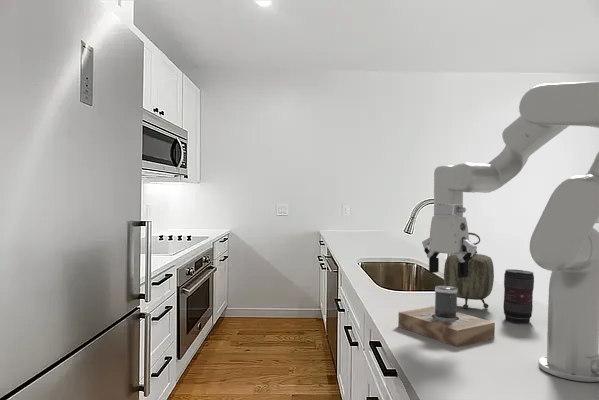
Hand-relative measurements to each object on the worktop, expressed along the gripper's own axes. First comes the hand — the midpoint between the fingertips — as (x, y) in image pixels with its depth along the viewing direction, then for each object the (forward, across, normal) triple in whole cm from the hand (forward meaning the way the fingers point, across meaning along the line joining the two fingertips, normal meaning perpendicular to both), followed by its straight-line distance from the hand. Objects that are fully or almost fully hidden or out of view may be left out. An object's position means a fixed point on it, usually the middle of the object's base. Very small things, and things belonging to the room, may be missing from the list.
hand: (447, 274), depth 127 cm
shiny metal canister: (+16, +1, 0) cm, 16 cm away
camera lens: (+16, -2, -29) cm, 33 cm away
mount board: (+16, +1, 0) cm, 16 cm away
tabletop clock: (+16, +16, -29) cm, 37 cm away
